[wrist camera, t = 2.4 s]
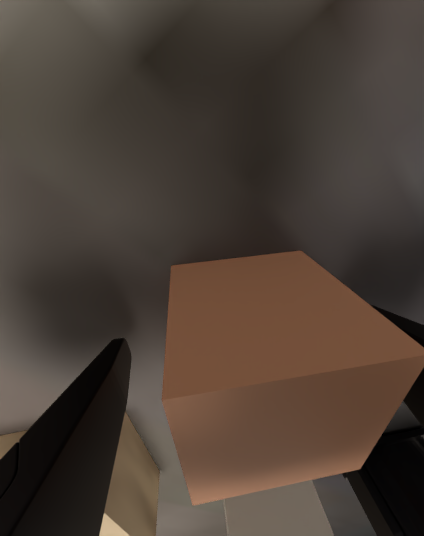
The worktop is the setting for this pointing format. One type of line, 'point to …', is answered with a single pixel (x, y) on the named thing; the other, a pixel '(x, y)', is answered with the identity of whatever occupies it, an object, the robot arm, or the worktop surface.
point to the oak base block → (123, 485)
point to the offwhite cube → (277, 512)
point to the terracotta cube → (276, 374)
